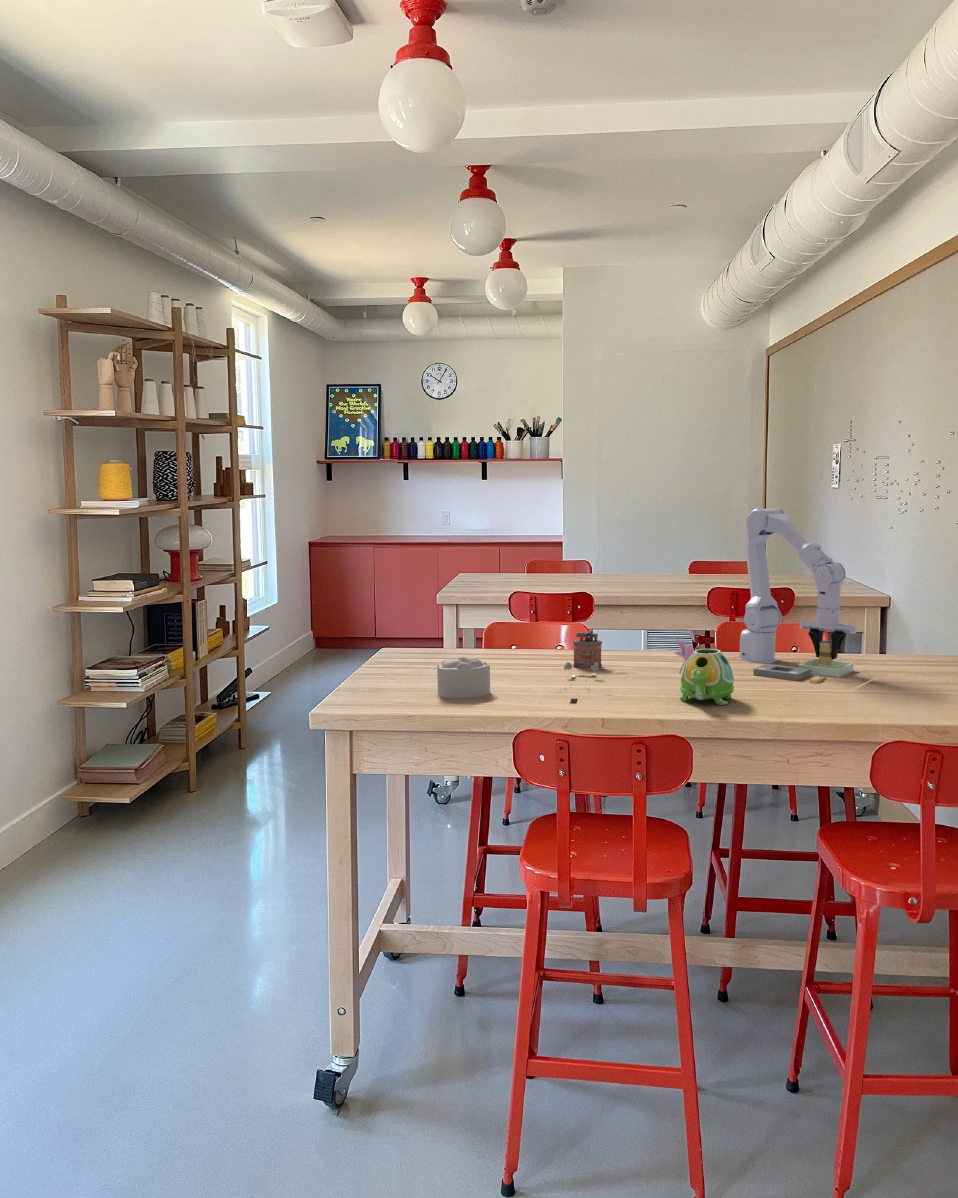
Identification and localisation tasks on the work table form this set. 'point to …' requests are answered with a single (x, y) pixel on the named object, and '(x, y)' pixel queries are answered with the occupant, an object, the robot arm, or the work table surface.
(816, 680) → the puller tool
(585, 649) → the lighter
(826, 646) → the fuse
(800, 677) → the fuse block
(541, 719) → the work table surface
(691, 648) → the lily
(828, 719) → the work table surface
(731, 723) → the work table surface
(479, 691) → the lumpy-topped squat cylinder
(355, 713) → the work table surface
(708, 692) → the turtle holder
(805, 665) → the parts tray
